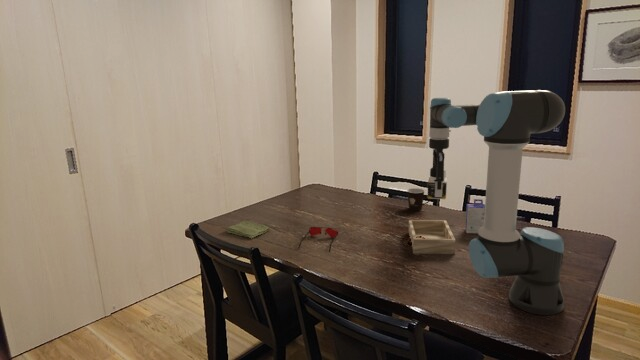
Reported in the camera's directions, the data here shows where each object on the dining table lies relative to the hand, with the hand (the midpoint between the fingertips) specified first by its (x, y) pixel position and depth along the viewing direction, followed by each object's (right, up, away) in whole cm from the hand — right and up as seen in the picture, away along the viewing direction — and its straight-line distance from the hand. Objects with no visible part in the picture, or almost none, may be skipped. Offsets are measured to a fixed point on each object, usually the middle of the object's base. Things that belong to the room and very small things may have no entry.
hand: (437, 193), depth 172 cm
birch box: (-1, -21, +6) cm, 22 cm away
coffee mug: (+3, -10, +46) cm, 48 cm away
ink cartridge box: (+22, -18, +16) cm, 32 cm away
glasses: (-48, -22, +10) cm, 54 cm away
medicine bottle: (0, -1, 0) cm, 1 cm away
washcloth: (-81, -19, +26) cm, 87 cm away
